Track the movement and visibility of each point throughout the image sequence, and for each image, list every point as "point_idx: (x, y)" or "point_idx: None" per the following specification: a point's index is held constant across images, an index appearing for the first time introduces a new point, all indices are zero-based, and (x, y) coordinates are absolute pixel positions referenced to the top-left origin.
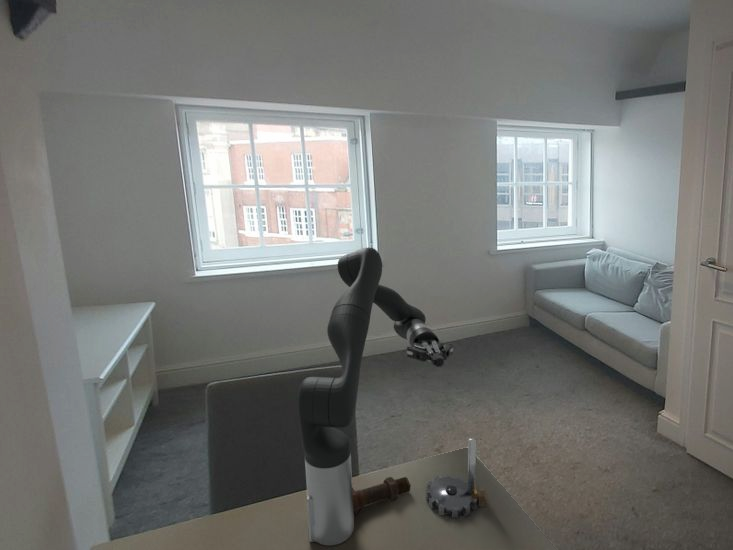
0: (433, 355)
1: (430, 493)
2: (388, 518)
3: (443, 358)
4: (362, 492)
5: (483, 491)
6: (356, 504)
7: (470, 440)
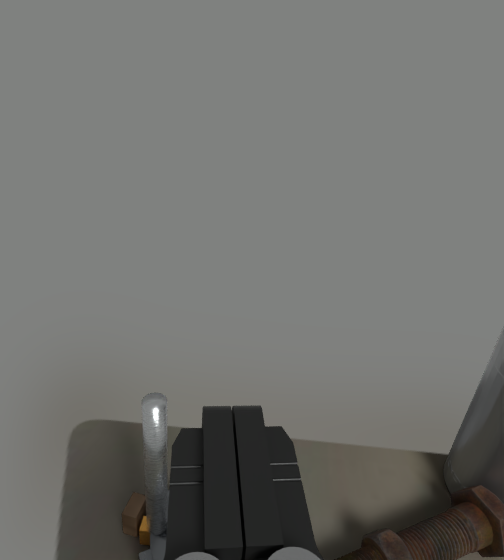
0: (275, 506)
1: None
2: (375, 502)
3: (178, 439)
4: (461, 516)
5: (126, 510)
6: (461, 490)
7: (163, 396)
